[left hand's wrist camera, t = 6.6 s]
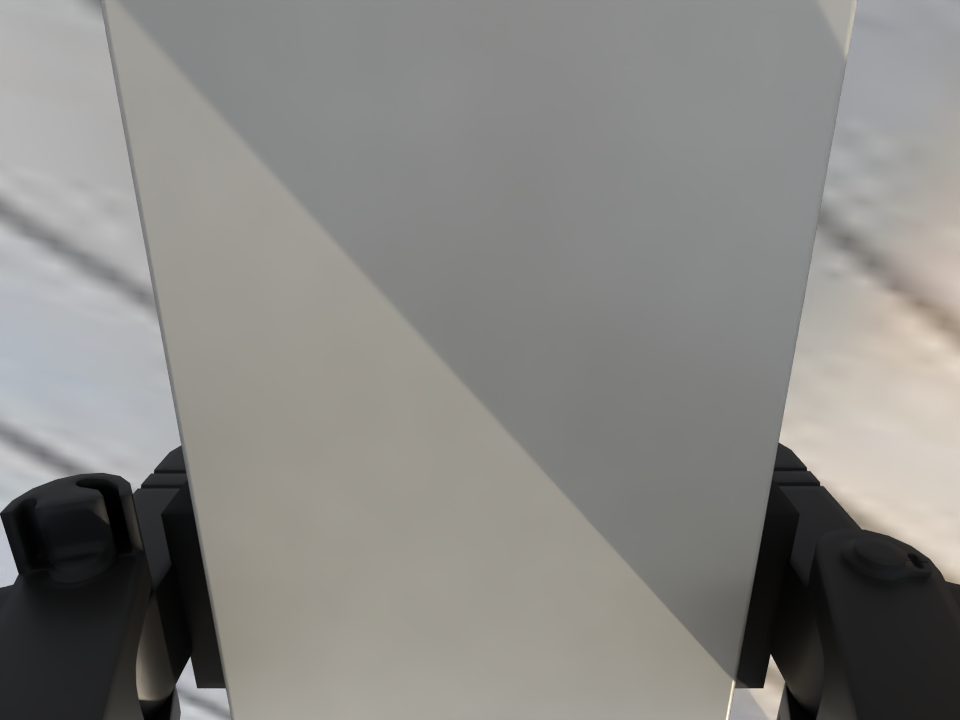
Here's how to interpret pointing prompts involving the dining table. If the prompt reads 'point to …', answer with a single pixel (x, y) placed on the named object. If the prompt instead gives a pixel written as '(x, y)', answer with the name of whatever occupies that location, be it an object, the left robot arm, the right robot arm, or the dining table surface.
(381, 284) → the beam
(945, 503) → the dining table surface
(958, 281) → the dining table surface
